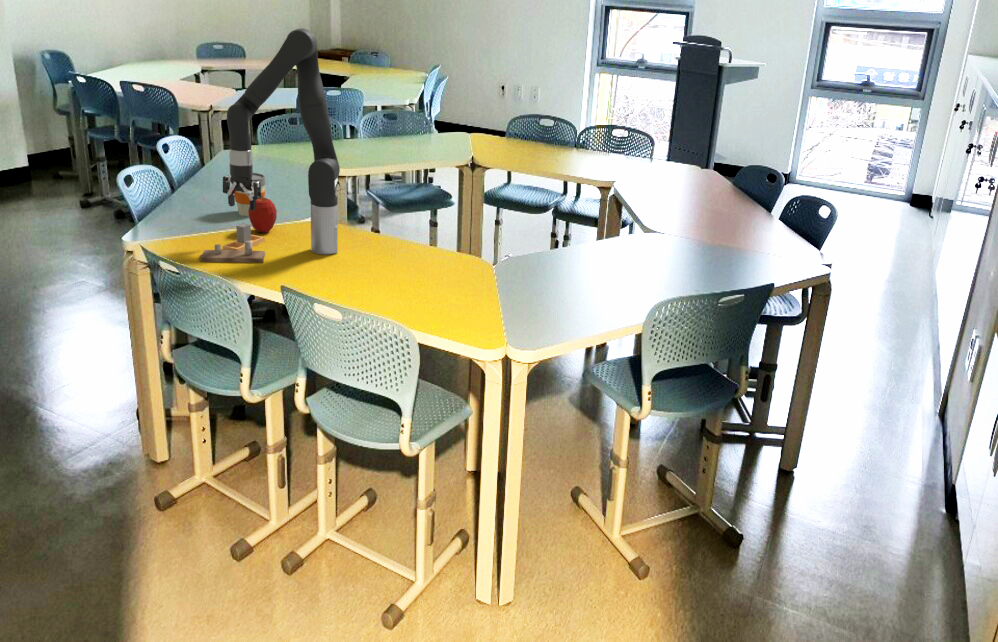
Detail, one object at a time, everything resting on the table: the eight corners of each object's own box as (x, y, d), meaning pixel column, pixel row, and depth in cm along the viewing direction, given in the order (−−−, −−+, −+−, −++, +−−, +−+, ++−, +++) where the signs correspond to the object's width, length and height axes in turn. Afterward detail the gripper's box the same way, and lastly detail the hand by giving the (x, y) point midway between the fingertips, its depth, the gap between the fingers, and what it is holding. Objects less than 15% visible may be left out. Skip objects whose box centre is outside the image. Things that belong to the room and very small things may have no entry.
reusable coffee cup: (258, 207, 346) (256, 171, 341) (272, 215, 338) (271, 178, 332) (228, 211, 339) (226, 174, 333) (242, 219, 330) (240, 181, 324)
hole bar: (250, 238, 309) (250, 218, 307) (264, 241, 308) (264, 221, 305) (222, 250, 295) (221, 229, 293) (237, 253, 294) (236, 232, 291)
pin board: (265, 255, 294) (264, 238, 292) (262, 262, 287) (262, 245, 284) (204, 253, 290) (203, 237, 288) (201, 261, 283) (199, 244, 281)
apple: (246, 228, 320) (244, 192, 314) (273, 226, 324) (272, 191, 319) (252, 236, 311) (251, 199, 306) (280, 234, 316) (279, 198, 311)
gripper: (216, 160, 289) (218, 206, 295) (251, 167, 285) (253, 214, 291) (230, 157, 295) (232, 202, 302) (265, 163, 291) (266, 209, 298)
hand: (242, 208), depth 296 cm, fingers open, 8 cm apart
